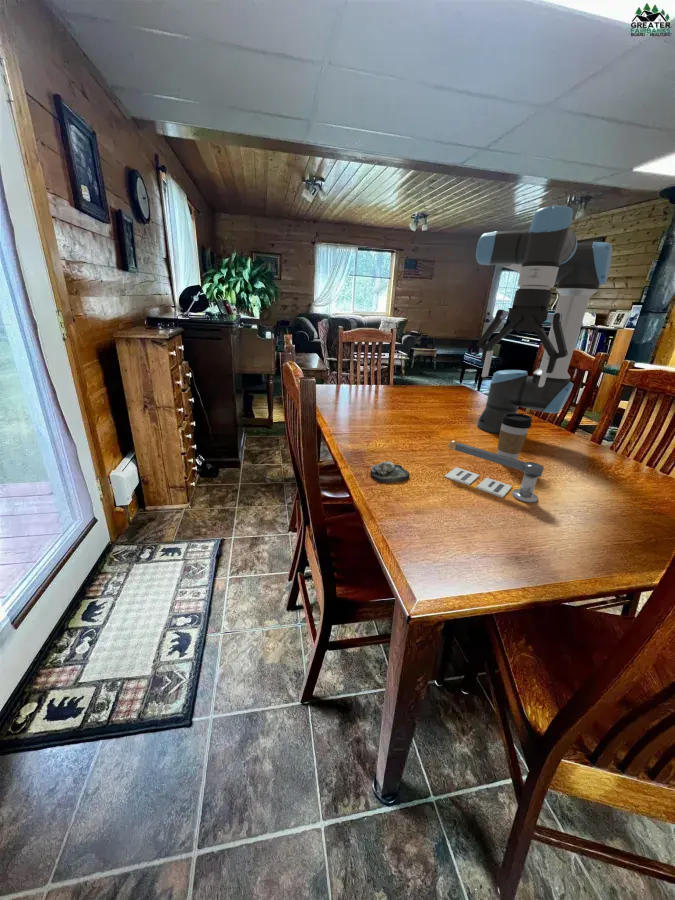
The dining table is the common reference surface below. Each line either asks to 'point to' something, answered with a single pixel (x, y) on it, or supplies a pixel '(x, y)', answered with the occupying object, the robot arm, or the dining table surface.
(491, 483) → the label
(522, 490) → the post
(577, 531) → the dining table surface
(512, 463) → the swing arm
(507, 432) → the coffee cup
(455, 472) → the label
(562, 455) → the dining table surface
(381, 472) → the dark grey lumpy mound
